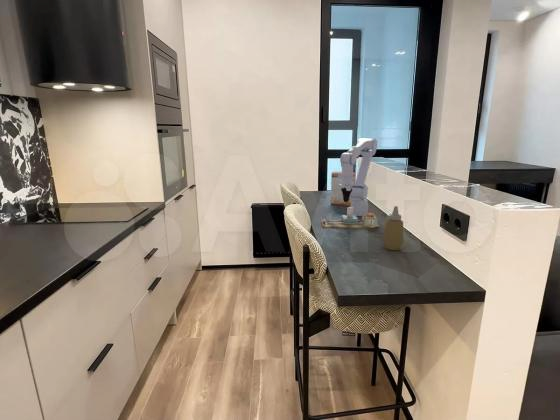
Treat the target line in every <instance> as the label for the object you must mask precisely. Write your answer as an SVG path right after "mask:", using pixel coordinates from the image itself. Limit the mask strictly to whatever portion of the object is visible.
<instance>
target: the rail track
mask: <svg viewBox="0 0 560 420" xmlns="http://www.w3.org/2000/svg"><path fill="white" fill-rule="evenodd" d="M321 226H322V228H338V229H339V228H347V229H348V228H358V229H359V228H360V229H362V228H363V229H366V228H367V229H369V228H370V229H374V227H379V228H380V225H379V223H377V226H371V225H364V223H363V222H362V219H358V224H344V222H343V220H342V219H326V218H322V220H321Z"/></svg>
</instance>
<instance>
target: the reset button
mask: <svg viewBox="0 0 560 420" xmlns="http://www.w3.org/2000/svg"><path fill="white" fill-rule="evenodd" d="M374 214H375V213H373V212H367V213H365V216H366V217H373V216H374Z"/></svg>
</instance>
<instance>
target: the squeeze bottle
mask: <svg viewBox="0 0 560 420" xmlns="http://www.w3.org/2000/svg"><path fill="white" fill-rule="evenodd" d="M385 221H386V222H385V226H384V232H383V233H384V234H383V238H382V239H383V244H384V247H385V249H387V250H389V251H390V250H391V251H399V250H400V249H401V248H402V245H403V243H404V238H405V237H404V221H403V220H402V215H401V214H399V207H398V206H396V205H394V207H393V210H392V213H390V214H389V215H388V219H386V220H385Z"/></svg>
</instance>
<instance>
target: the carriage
mask: <svg viewBox="0 0 560 420" xmlns="http://www.w3.org/2000/svg"><path fill="white" fill-rule="evenodd" d="M346 209H347V210H346V215H345V214H342V215H341V220H343V222H344V224H358V220H359V218H358V216H356V215H353V207H350V206H346Z"/></svg>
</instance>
